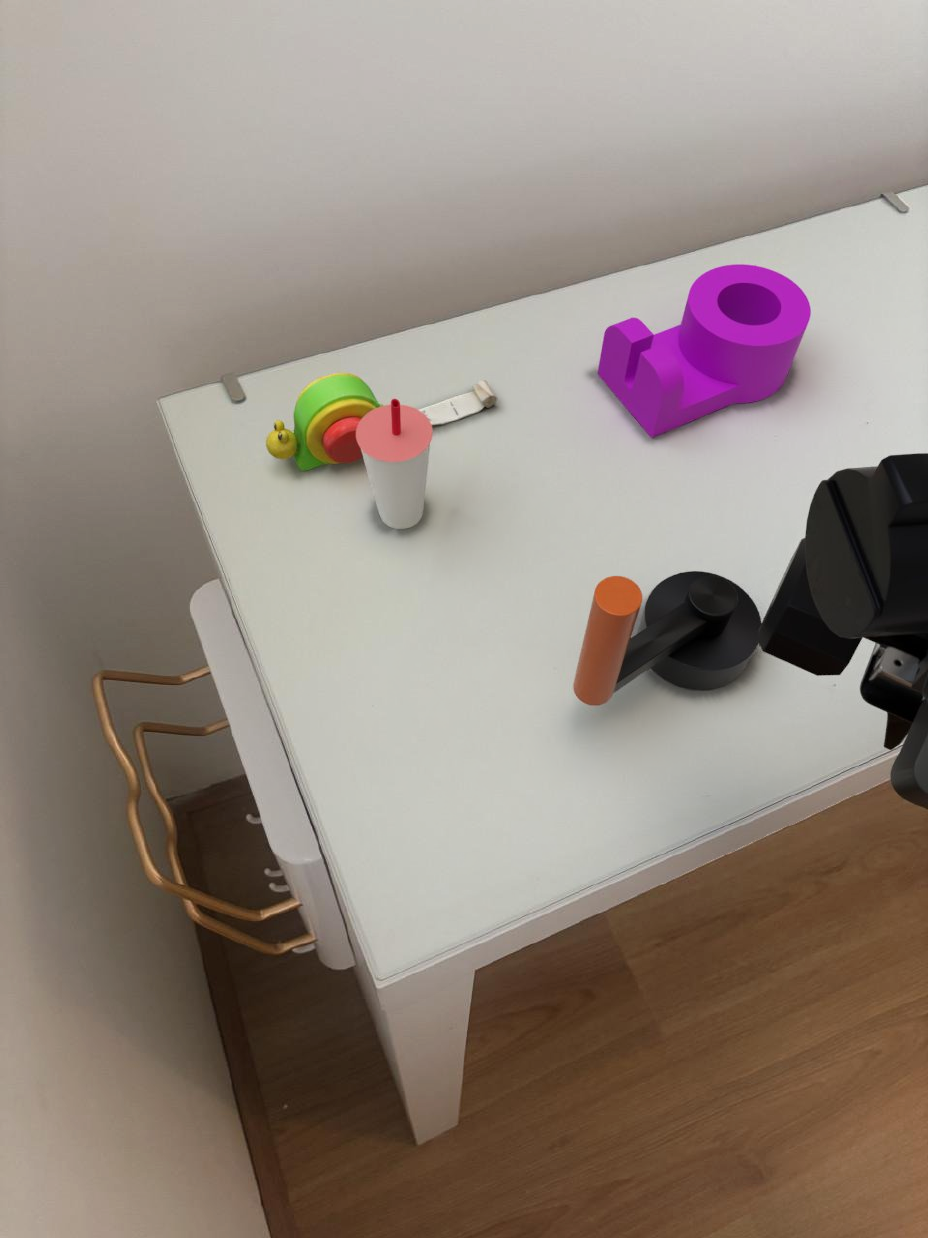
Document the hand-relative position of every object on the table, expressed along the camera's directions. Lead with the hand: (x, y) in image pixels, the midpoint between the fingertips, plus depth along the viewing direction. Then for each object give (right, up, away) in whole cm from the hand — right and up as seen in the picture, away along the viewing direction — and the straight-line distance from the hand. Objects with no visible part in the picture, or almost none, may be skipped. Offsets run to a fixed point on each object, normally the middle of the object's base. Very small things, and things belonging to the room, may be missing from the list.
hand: (905, 748), depth 47 cm
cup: (-28, +15, +24) cm, 40 cm away
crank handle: (-10, +4, +14) cm, 18 cm away
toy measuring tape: (-29, +22, +29) cm, 46 cm away
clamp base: (-6, +5, +18) cm, 20 cm away
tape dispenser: (-2, +28, +32) cm, 43 cm away
